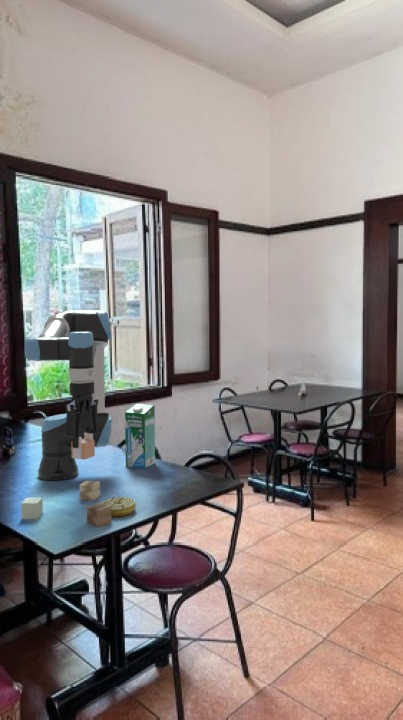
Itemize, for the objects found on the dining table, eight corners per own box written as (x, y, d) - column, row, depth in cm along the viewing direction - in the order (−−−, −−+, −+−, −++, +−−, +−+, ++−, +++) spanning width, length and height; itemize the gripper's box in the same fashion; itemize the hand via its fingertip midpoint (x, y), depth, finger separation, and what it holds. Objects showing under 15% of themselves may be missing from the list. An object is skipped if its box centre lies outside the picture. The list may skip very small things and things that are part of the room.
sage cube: (21, 519, 155) (21, 503, 155) (26, 513, 160) (26, 497, 160) (38, 519, 155) (37, 503, 155) (42, 513, 160) (42, 497, 160)
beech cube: (79, 499, 172) (79, 484, 172) (86, 494, 177) (86, 480, 177) (93, 500, 171) (93, 486, 171) (100, 495, 176) (99, 481, 175)
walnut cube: (87, 523, 152) (86, 506, 151) (100, 518, 156) (100, 502, 155) (97, 527, 148) (97, 511, 148) (111, 522, 152) (111, 506, 152)
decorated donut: (111, 504, 168) (111, 493, 168) (141, 508, 164) (140, 496, 164) (94, 515, 158) (94, 503, 158) (126, 520, 154) (125, 507, 154)
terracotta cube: (71, 457, 159) (71, 441, 159) (81, 454, 164) (81, 438, 163) (84, 459, 157) (84, 443, 157) (94, 455, 162) (94, 440, 161)
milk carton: (125, 466, 211) (124, 406, 209) (136, 461, 219) (135, 403, 217) (145, 469, 207) (144, 407, 206) (155, 463, 216) (154, 404, 214)
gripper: (72, 385, 149) (74, 464, 151) (108, 379, 165) (110, 450, 167) (52, 384, 152) (54, 461, 154) (89, 378, 168) (91, 447, 170)
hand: (83, 455), depth 160 cm, fingers closed on terracotta cube, 5 cm apart
